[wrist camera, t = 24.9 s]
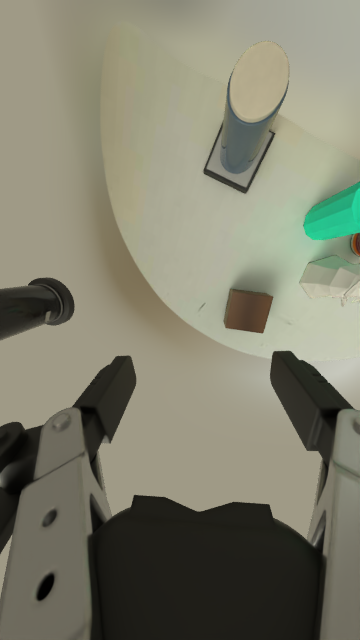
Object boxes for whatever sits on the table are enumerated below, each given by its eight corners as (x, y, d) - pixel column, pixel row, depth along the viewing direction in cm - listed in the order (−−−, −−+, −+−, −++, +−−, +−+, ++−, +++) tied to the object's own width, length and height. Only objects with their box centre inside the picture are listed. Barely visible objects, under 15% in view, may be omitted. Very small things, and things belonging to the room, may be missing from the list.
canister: (216, 173, 28) (222, 120, 18) (223, 126, 26) (234, 38, 16) (253, 175, 28) (281, 121, 17) (262, 127, 26) (300, 36, 15)
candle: (296, 220, 30) (351, 194, 18) (331, 191, 28) (416, 142, 17) (315, 248, 31) (379, 239, 19) (351, 221, 29) (444, 194, 17)
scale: (203, 173, 30) (203, 169, 28) (226, 115, 27) (227, 107, 26) (245, 193, 30) (247, 190, 28) (273, 137, 27) (276, 131, 26)
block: (223, 321, 37) (225, 328, 33) (229, 288, 35) (232, 291, 31) (257, 326, 36) (263, 333, 33) (266, 293, 34) (273, 296, 30)
